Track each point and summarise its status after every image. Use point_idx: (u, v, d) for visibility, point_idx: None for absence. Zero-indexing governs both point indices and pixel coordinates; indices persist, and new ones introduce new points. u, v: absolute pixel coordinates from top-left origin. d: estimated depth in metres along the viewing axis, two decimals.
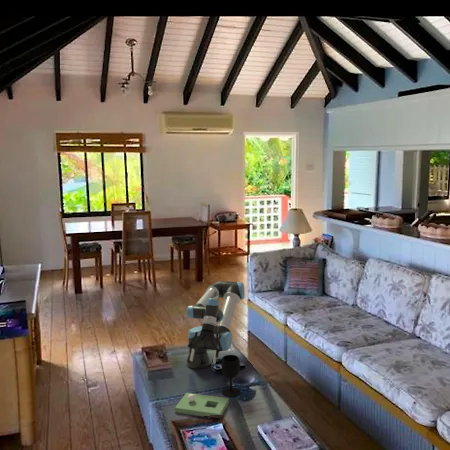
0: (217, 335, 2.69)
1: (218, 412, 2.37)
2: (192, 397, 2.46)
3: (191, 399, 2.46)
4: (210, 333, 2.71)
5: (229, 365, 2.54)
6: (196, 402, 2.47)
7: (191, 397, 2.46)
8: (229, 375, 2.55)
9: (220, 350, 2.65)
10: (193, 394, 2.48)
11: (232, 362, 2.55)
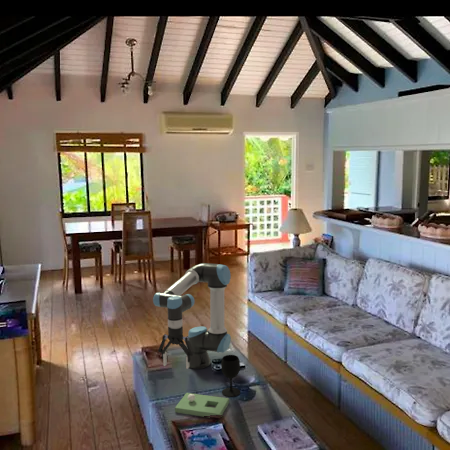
0: (186, 340, 2.42)
1: (218, 412, 2.37)
2: (192, 397, 2.46)
3: (191, 399, 2.46)
4: (178, 337, 2.44)
5: (229, 365, 2.54)
6: (196, 402, 2.47)
7: (191, 397, 2.46)
8: (229, 375, 2.55)
9: (191, 355, 2.43)
10: (193, 394, 2.48)
11: (232, 362, 2.55)
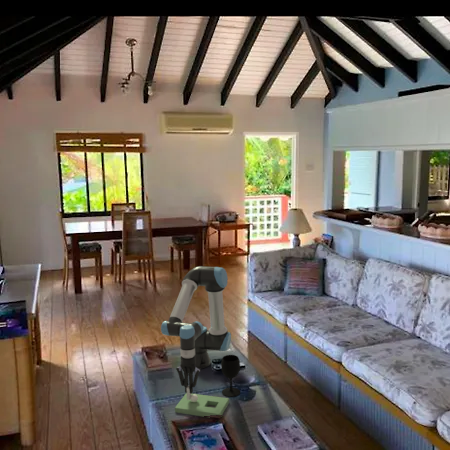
0: (197, 372, 2.43)
1: (218, 412, 2.37)
2: (195, 400, 2.45)
3: (194, 401, 2.45)
4: (192, 365, 2.43)
5: (229, 365, 2.54)
6: (196, 402, 2.47)
7: (195, 399, 2.45)
8: (229, 375, 2.55)
9: None
10: (197, 397, 2.47)
11: (232, 362, 2.55)
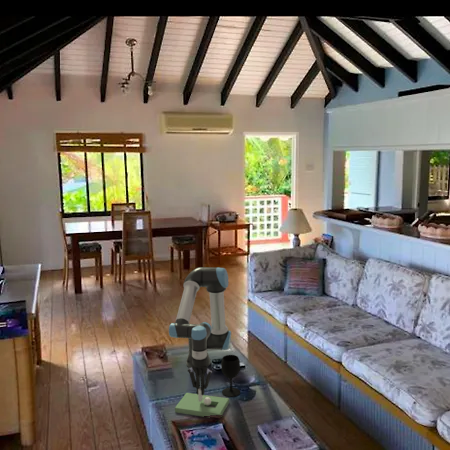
0: (209, 374, 2.41)
1: (218, 412, 2.37)
2: (204, 400, 2.44)
3: (205, 401, 2.43)
4: (204, 367, 2.41)
5: (229, 365, 2.54)
6: (196, 402, 2.47)
7: (204, 401, 2.43)
8: (229, 375, 2.55)
9: (205, 388, 2.43)
10: (205, 398, 2.46)
11: (232, 362, 2.55)
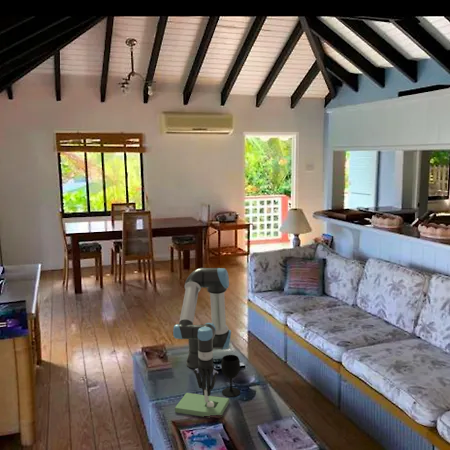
0: (215, 375, 2.40)
1: (218, 412, 2.37)
2: (210, 403, 2.43)
3: (210, 405, 2.42)
4: (210, 368, 2.41)
5: (229, 365, 2.54)
6: (196, 402, 2.47)
7: (209, 404, 2.43)
8: (229, 375, 2.55)
9: (211, 389, 2.43)
10: (210, 401, 2.45)
11: (232, 362, 2.55)
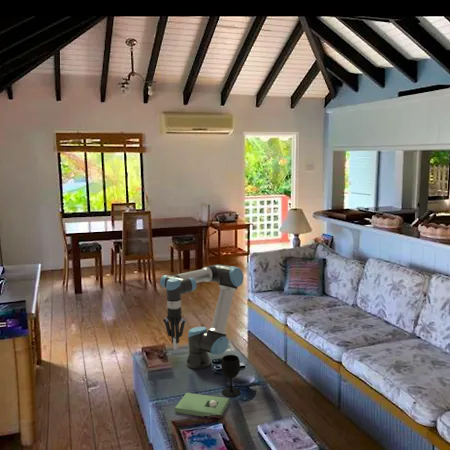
0: (183, 323, 2.57)
1: (218, 412, 2.37)
2: (215, 402, 2.44)
3: (214, 403, 2.43)
4: (178, 316, 2.57)
5: (229, 365, 2.54)
6: (196, 402, 2.47)
7: (214, 401, 2.44)
8: (229, 375, 2.55)
9: None
10: (215, 401, 2.46)
11: (232, 362, 2.55)
